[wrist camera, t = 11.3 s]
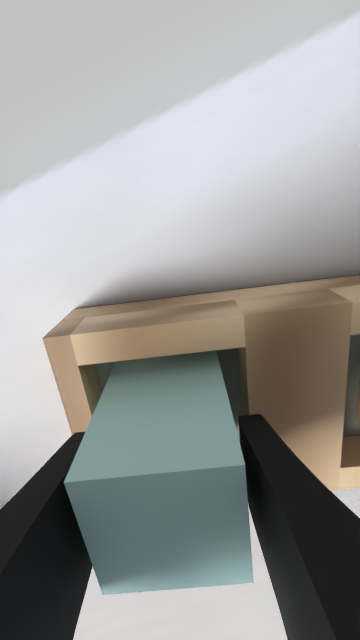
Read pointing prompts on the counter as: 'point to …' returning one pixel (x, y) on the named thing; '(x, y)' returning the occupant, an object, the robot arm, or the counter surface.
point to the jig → (238, 360)
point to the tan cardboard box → (358, 406)
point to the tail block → (163, 479)
